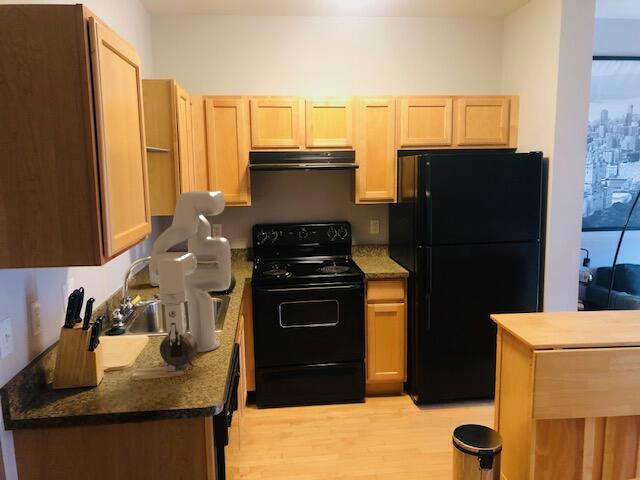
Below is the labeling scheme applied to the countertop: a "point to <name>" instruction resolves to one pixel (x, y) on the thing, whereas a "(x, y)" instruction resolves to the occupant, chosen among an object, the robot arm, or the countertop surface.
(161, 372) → the track
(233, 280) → the squash
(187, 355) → the alarm clock
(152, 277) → the utensil holder
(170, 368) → the block
